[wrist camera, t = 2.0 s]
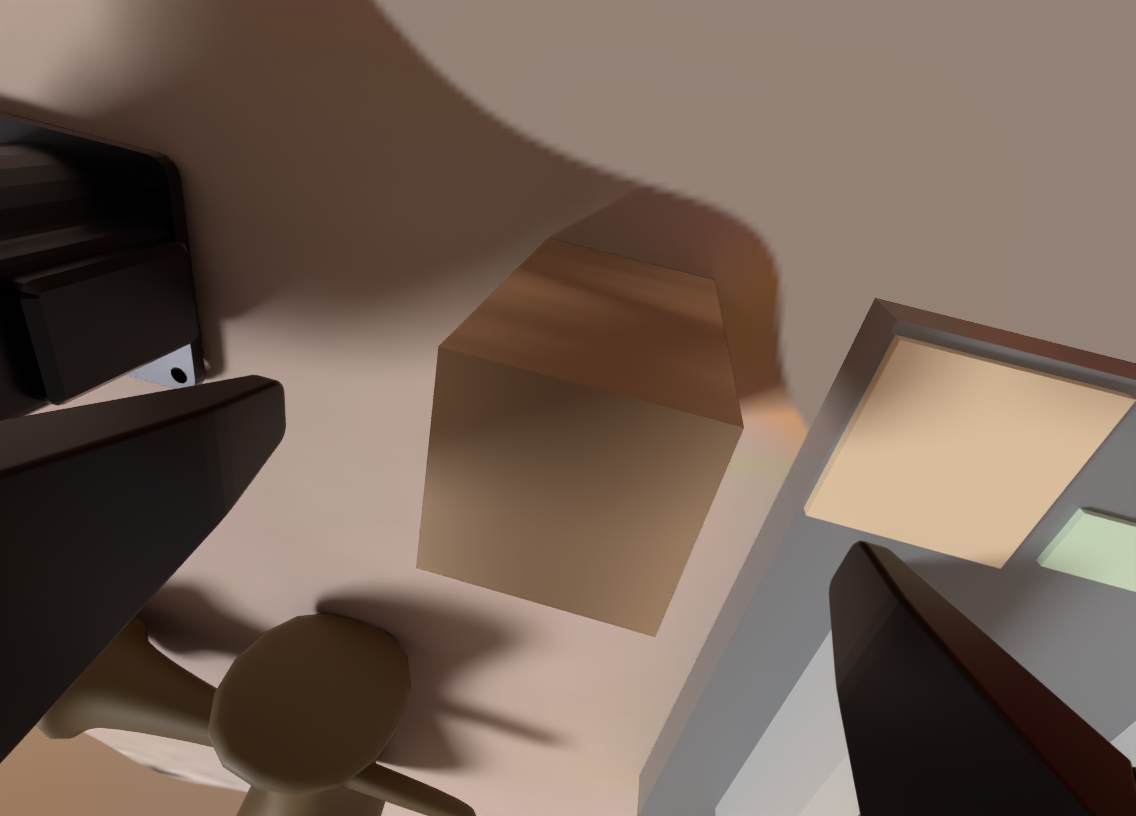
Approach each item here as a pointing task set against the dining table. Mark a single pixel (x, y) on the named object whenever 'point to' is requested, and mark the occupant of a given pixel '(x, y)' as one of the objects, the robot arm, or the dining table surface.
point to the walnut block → (580, 435)
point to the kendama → (270, 715)
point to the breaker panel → (921, 554)
